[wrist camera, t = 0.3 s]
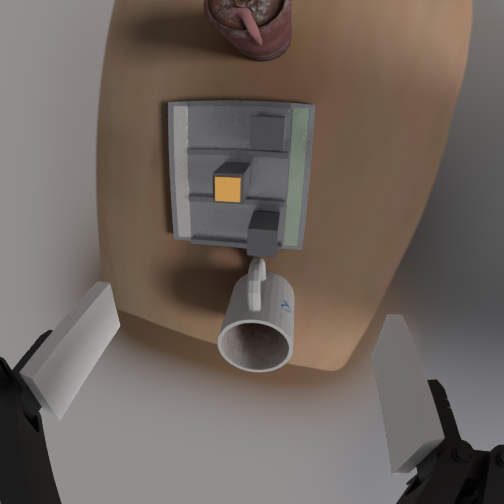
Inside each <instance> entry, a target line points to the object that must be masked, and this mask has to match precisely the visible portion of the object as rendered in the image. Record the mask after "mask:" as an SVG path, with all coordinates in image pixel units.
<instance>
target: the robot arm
mask: <svg viewBox="0 0 504 504" xmlns="http://www.w3.org/2000/svg"><path fill="white" fill-rule="evenodd" d="M119 327H120V323H119V319H118V315H117V311H116V307H115V303H114V298H113V294H112V289H111V285H110V283H107V282H101V281H97V282H96V284H95V285H94V286H93V287H92V288H91V289H90V290H89V291H88V292H87V293H86V294H85V295H84V296H83V297H82V299H81V300H80V301H79V302H78V303H77V304H76V305H75V306H74V307H73V308H72V310H71V311H70V312H69V313H68V314H67V315H66V317H65V318H64V319H63V320H62V321H61V322H60V323H59V324H58V326H57V327H56V328H55V329H54V330H53V331H52V330H48V331H47V332H45V333H44V334H42V335H41V336H40V337H39V338H38V339H37V340H36V342H35V344H33V345H32V347H31V348H30V350H28V351H27V352H26V354H25V355H24V356H23V357H22V359H21V360H20V361H19V362H18V364H17V365H16V366H15V367H14V369H13V370H11V369H10V367H9V365H8V364H7V362H6V360H5V359H4V358H2V357H0V502H1V504H62V503H61V500H60V497H59V494H58V491H57V487H56V484H55V480H54V477H53V473H52V469H51V464H50V460H49V456H48V451H47V447H46V441H45V437H44V431H43V425H42V419H41V415H40V412H39V410H40V408H41V407H42V408H43V410H44V411H45V412H46V414H47V415H49V416H51V417H53V418H55V419H57V420H59V421H60V420H61V419H62V417H63V415H64V414H65V412H66V410H67V409H68V407H69V405H70V403H71V402H72V400H73V399H74V397H75V395H76V394H77V392H78V391H79V389H80V387H81V385H82V384H83V382H84V381H85V379H86V378H87V376H88V374H89V373H90V371H91V370H92V368H93V367H94V365H95V363H96V362H97V360H98V358H99V357H100V356H101V354H102V353H103V351H104V350H105V348H106V347H107V345H108V343H109V342H110V341H111V339H112V338H113V336H114V335H115V333H116V332H117V330H118V329H119ZM371 359H372V364H373V368H374V372H375V378H376V382H377V387H378V392H379V397H380V402H381V407H382V413H383V418H384V424H385V431H386V437H387V443H388V450H389V457H390V464H391V472H392V475H396V474H404V473H409V472H411V471H412V470H413V469H414V468H415V467H417V473H418V474H416V475H415V476H414V477H413V478H412V479H410V480H409V481H408V482H407V483H406V484H407V485H409V484H410V485H409V486H408V487H407V489H406V490H405V492H404V494H403V495H402V496H401V498H400V499H399V500H398V502H397V503H396V504H504V445H498V446H496V447H494V448H493V449H492V450H491V451H480V450H474V449H473V448H472V446H471V445H470V444H469V443H468V442H466V441H464V440H462V439H461V437H460V435H459V431H458V428H457V425H456V421H455V419H454V415H453V412H452V409H450V407H451V406H450V403H449V401H448V400H447V395H446V392H445V389H444V388H443V386H442V385H441V384H440V383H439V382H438V380H427V379H426V376H425V373H424V370H423V367H422V365H421V362H420V359H419V356H418V354H417V351H416V348H415V346H414V344H413V341H412V338H411V336H410V333H409V331H408V328H407V326H406V323H405V321H404V318H403V316H402V315H390V314H389V315H387V317H386V320H385V323H384V325H383V328H382V331H381V333H380V336H379V338H378V341H377V343H376V346H375V348H374V351H373V354H372V356H371Z"/></svg>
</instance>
